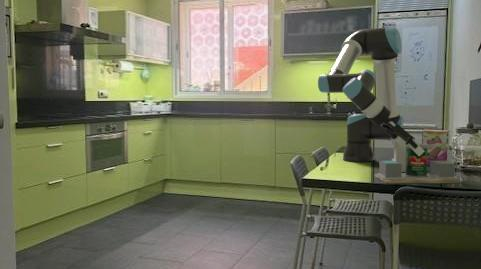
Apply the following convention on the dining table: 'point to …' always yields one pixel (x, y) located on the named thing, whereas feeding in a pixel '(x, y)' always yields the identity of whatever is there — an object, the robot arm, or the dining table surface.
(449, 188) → the dining table surface
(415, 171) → the canned tomato
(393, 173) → the block
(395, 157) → the circuit breaker
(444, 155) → the candy bar box
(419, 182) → the board
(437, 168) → the module
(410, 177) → the tan flat panel
